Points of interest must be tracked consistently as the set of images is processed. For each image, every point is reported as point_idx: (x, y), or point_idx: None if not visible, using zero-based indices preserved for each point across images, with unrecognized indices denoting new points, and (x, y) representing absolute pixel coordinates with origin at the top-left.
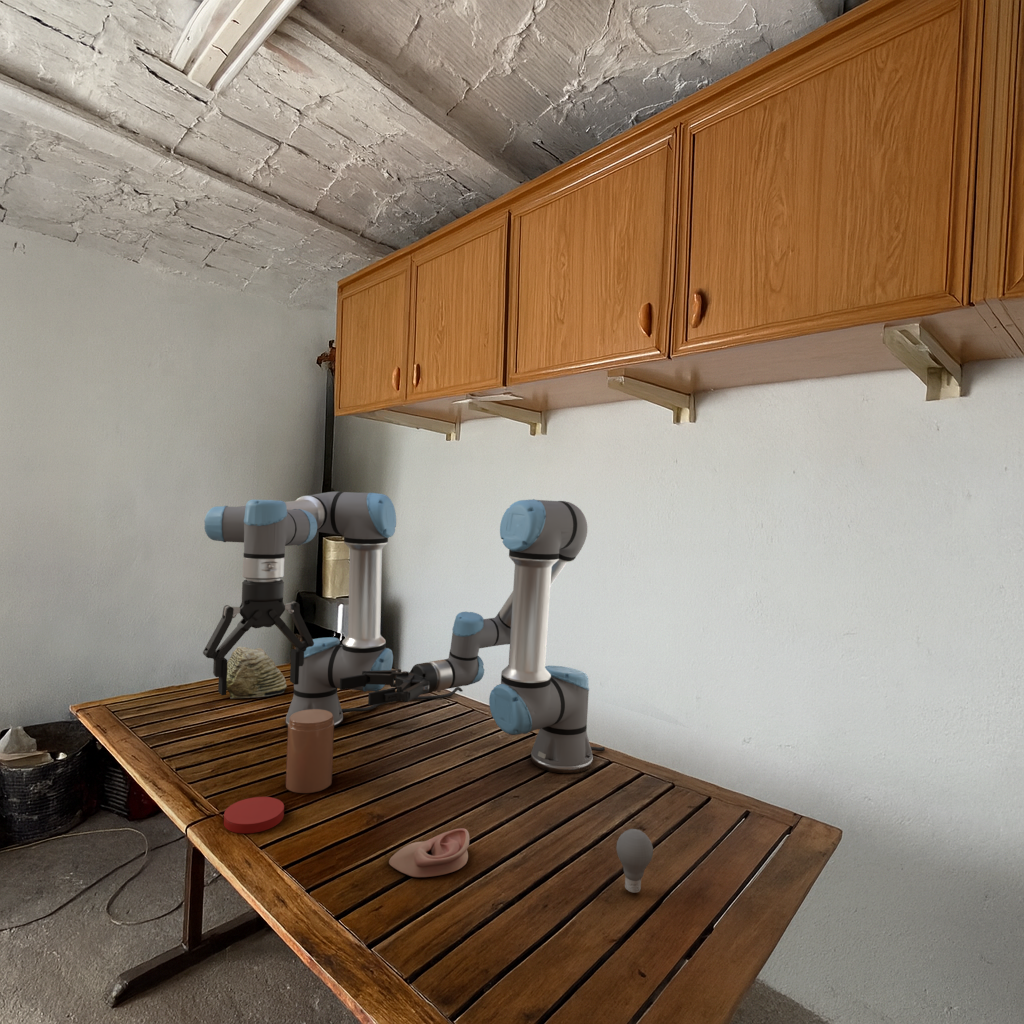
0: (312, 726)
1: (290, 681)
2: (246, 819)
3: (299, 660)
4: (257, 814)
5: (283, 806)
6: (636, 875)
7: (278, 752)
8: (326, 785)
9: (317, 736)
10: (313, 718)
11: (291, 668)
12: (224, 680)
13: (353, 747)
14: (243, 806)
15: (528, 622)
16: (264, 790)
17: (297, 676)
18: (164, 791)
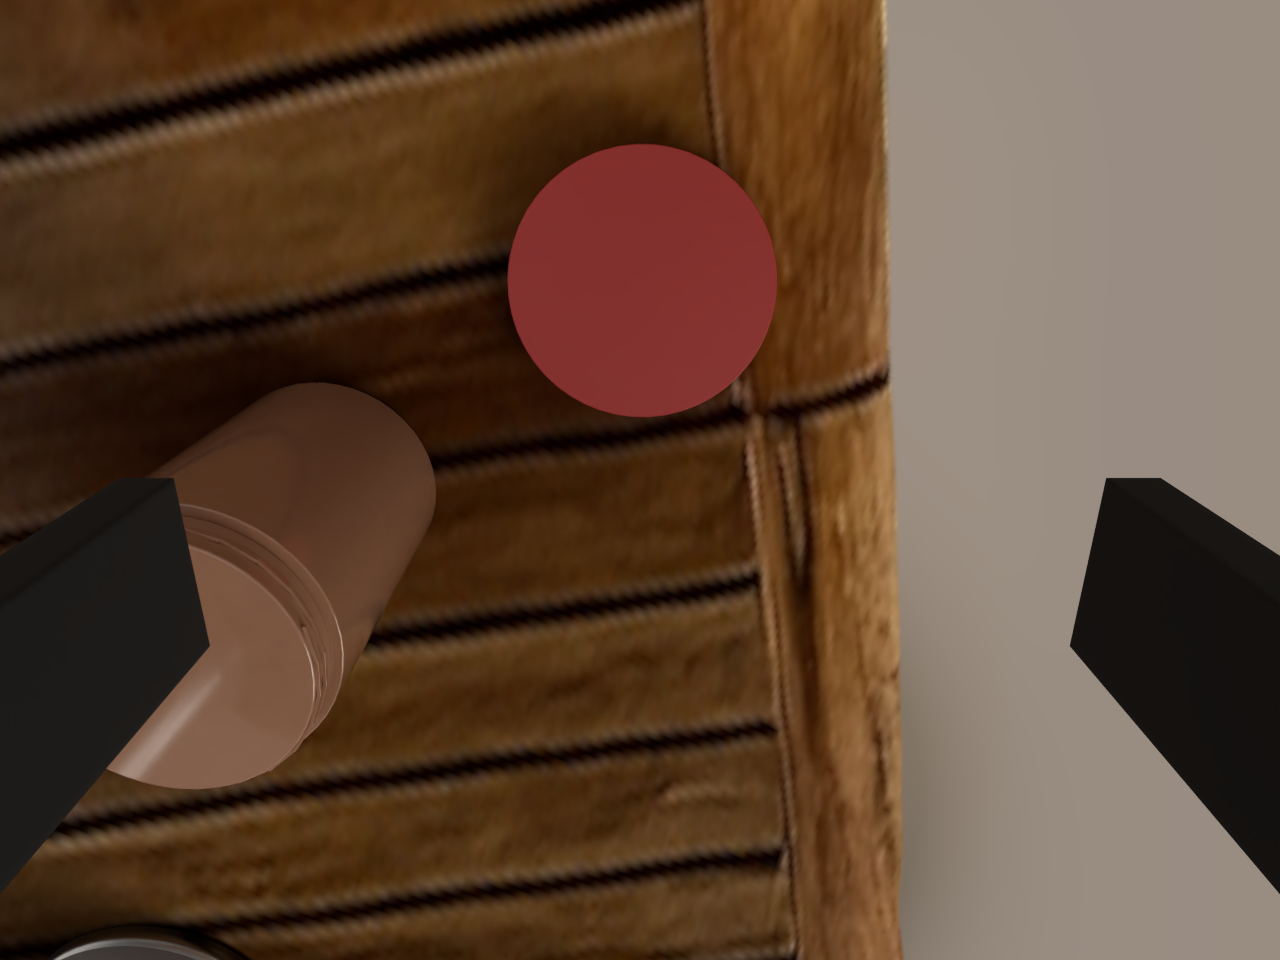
0: (195, 532)
1: (206, 629)
2: (702, 211)
3: None
4: (644, 234)
5: (515, 244)
6: None
7: (380, 822)
8: (262, 397)
9: (194, 486)
10: None
11: (92, 736)
12: (1273, 570)
13: None
14: (675, 349)
15: None
16: (528, 519)
17: (66, 525)
18: (871, 707)
